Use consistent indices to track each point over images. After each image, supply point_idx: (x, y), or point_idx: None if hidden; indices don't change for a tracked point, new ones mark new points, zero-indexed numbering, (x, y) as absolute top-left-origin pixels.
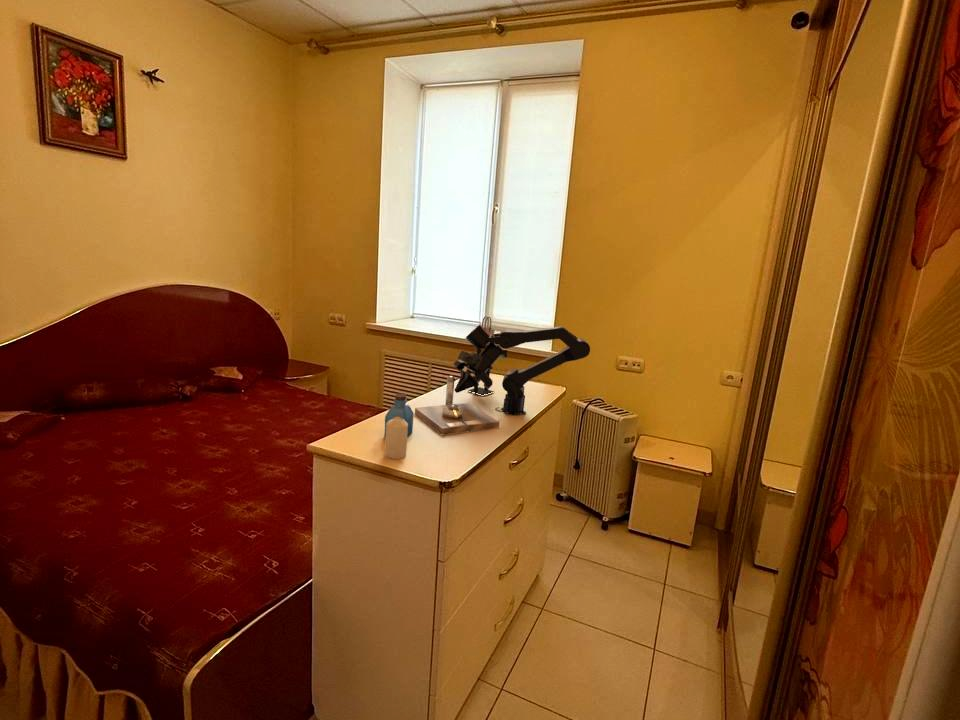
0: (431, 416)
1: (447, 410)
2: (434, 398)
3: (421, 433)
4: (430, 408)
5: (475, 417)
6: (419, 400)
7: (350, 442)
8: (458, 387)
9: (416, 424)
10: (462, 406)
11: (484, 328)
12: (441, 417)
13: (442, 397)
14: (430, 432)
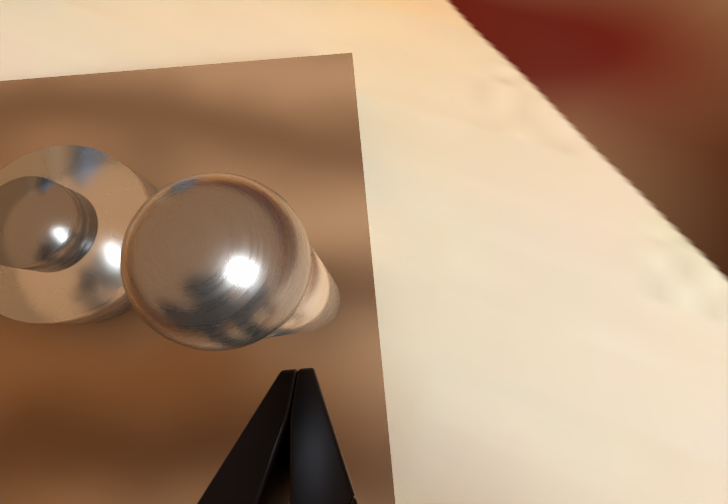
0: (145, 99)
1: (33, 168)
2: (684, 330)
3: (26, 20)
4: (314, 149)
5: (7, 423)
6: (634, 197)
7: None
8: (249, 420)
9: (167, 36)
10: None
11: None
12: None
13: (713, 411)
14: (20, 68)
